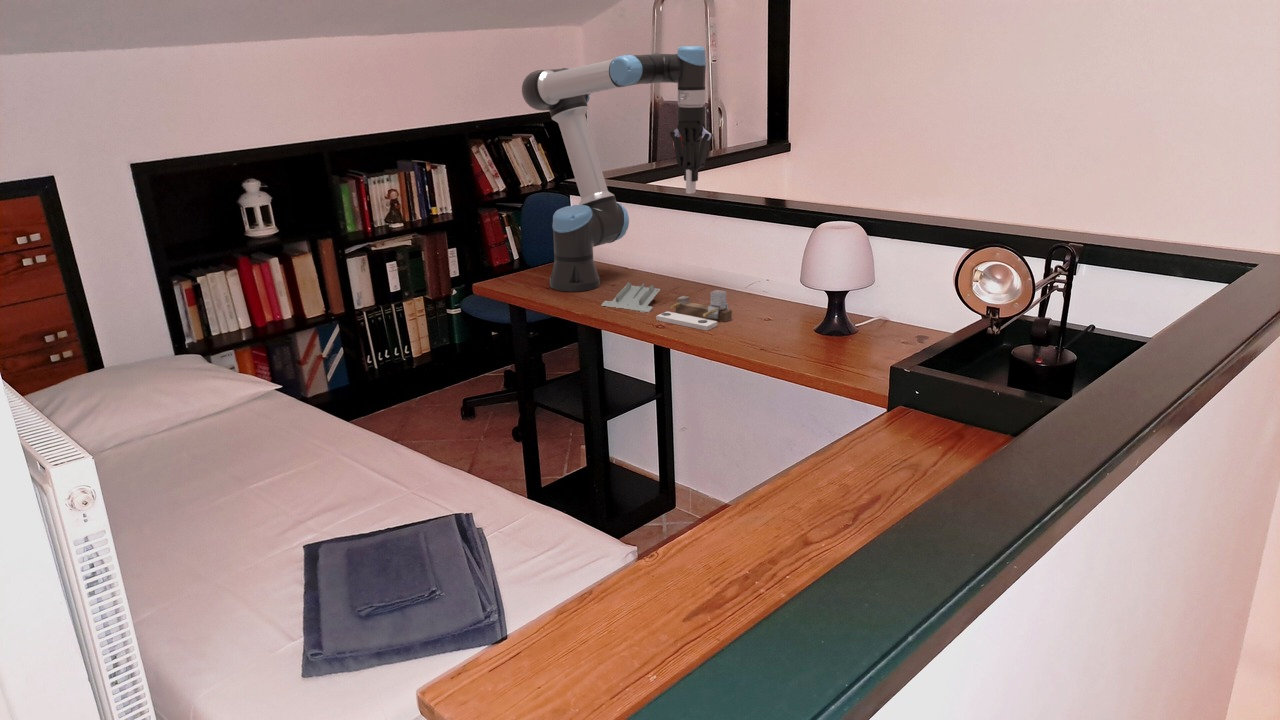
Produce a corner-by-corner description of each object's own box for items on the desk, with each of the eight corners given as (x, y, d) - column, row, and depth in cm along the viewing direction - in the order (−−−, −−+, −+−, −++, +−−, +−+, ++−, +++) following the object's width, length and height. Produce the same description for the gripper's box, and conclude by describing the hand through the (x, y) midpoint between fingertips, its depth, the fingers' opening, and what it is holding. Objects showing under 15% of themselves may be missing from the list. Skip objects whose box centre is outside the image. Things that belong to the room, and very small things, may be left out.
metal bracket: (620, 277, 264) (667, 282, 257) (623, 294, 267) (669, 300, 261) (597, 302, 254) (645, 309, 247) (601, 320, 257) (648, 327, 250)
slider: (699, 320, 239) (699, 296, 236) (718, 312, 246) (718, 288, 243) (708, 322, 237) (709, 298, 235) (728, 314, 244) (728, 290, 242)
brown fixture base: (666, 315, 246) (666, 301, 245) (681, 309, 252) (681, 295, 250) (716, 326, 237) (717, 311, 236) (731, 319, 242) (731, 304, 241)
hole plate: (656, 320, 243) (656, 315, 242) (667, 315, 246) (667, 310, 246) (706, 330, 233) (707, 325, 233) (717, 325, 237) (717, 321, 237)
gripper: (663, 106, 249) (664, 192, 257) (703, 107, 242) (702, 196, 250) (679, 104, 255) (679, 189, 263) (719, 105, 248) (717, 193, 256)
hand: (690, 192), depth 256 cm, fingers closed
